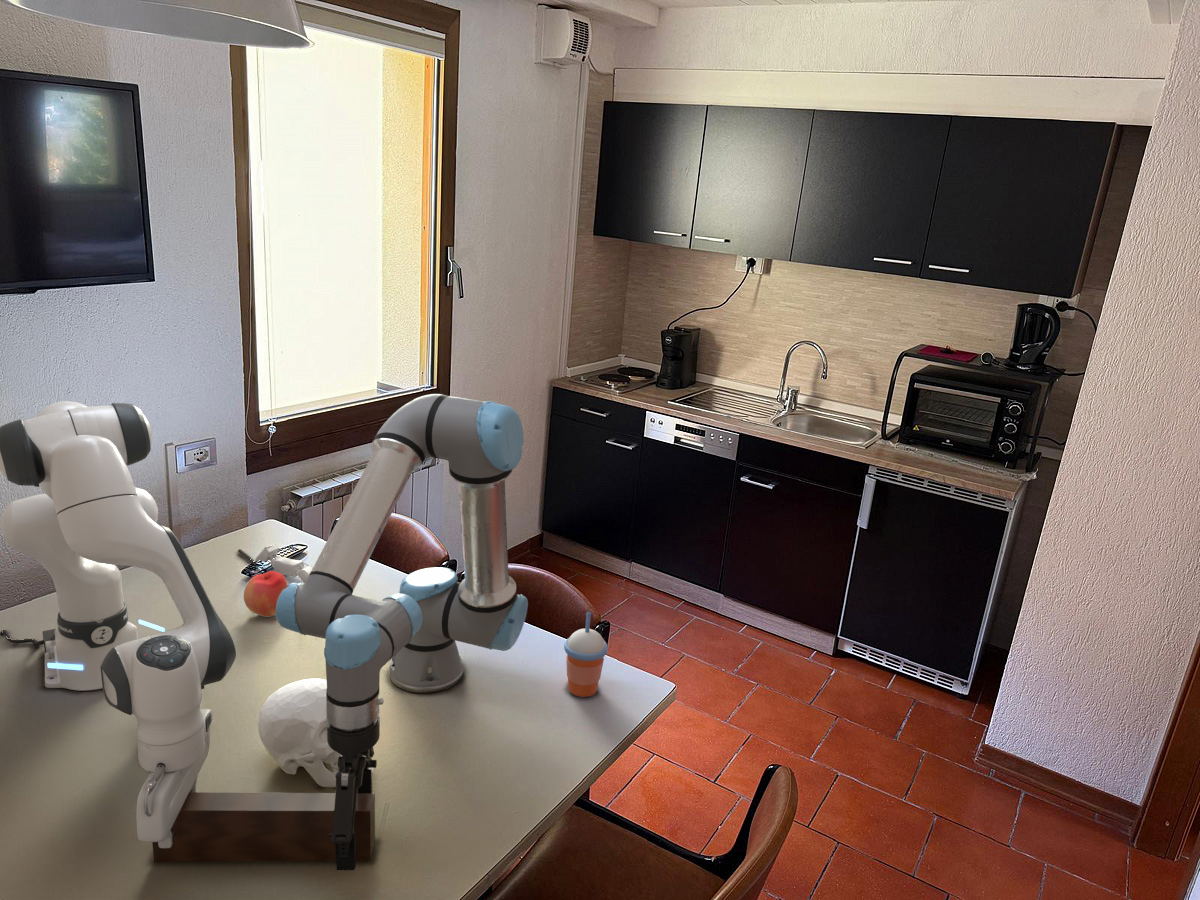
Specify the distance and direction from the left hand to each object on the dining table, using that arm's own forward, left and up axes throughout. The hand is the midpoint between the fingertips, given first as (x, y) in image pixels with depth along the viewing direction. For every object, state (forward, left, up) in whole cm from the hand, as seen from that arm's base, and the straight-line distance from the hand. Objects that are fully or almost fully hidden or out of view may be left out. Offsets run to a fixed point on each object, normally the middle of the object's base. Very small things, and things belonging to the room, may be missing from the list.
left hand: (178, 821), depth 129 cm
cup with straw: (+4, +79, -6) cm, 80 cm away
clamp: (-80, +52, -6) cm, 96 cm away
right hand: (+16, +20, -2) cm, 26 cm away
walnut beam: (+8, +10, -6) cm, 14 cm away
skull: (-6, +25, -6) cm, 27 cm away
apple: (-63, +40, -6) cm, 75 cm away
